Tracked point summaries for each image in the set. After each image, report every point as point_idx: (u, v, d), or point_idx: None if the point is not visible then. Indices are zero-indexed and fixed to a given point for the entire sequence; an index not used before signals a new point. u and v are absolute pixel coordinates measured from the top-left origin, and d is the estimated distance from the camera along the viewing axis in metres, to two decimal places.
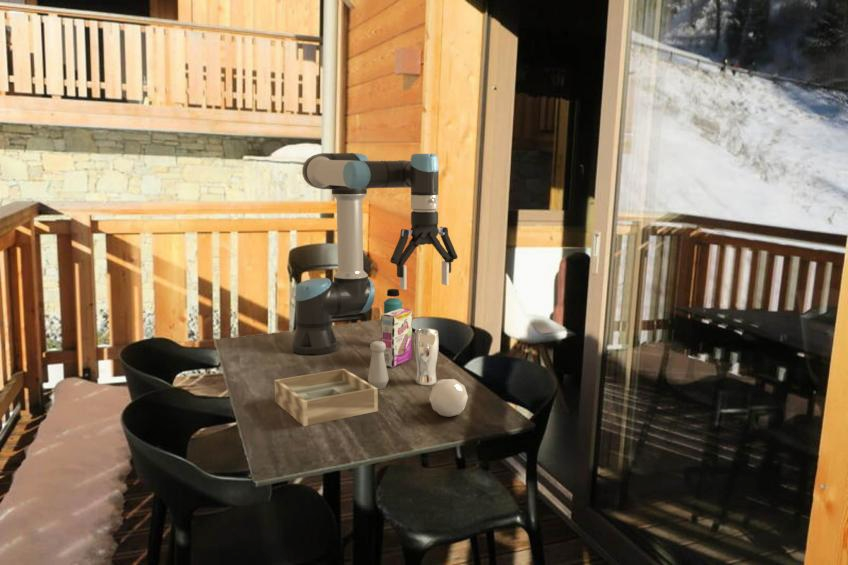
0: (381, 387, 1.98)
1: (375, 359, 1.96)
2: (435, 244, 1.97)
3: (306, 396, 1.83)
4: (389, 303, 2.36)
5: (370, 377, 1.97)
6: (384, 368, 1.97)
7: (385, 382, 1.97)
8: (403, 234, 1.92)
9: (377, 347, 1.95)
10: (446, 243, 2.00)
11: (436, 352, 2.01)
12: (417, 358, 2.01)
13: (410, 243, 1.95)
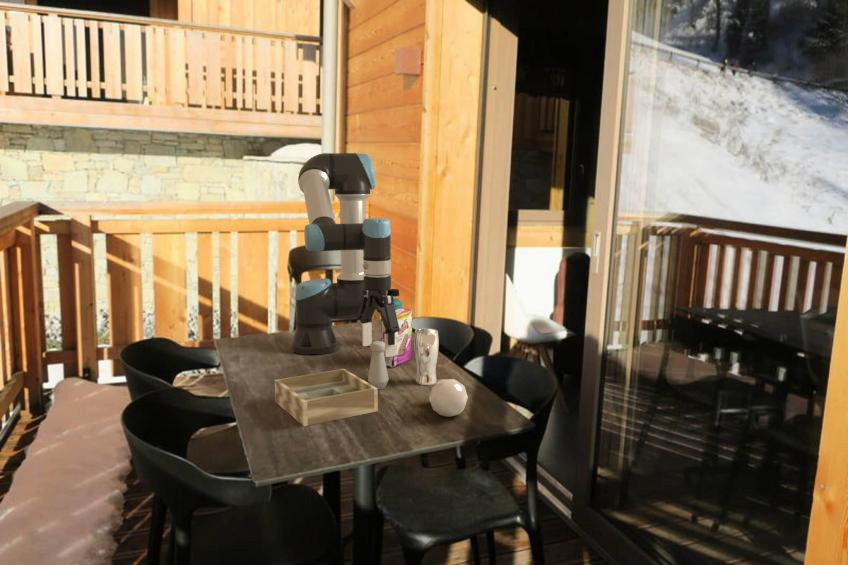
0: (381, 387, 1.98)
1: (375, 359, 1.96)
2: None
3: (306, 396, 1.83)
4: None
5: (370, 377, 1.97)
6: (384, 368, 1.97)
7: (385, 382, 1.97)
8: None
9: (377, 347, 1.95)
10: None
11: (436, 352, 2.01)
12: (417, 358, 2.01)
13: None
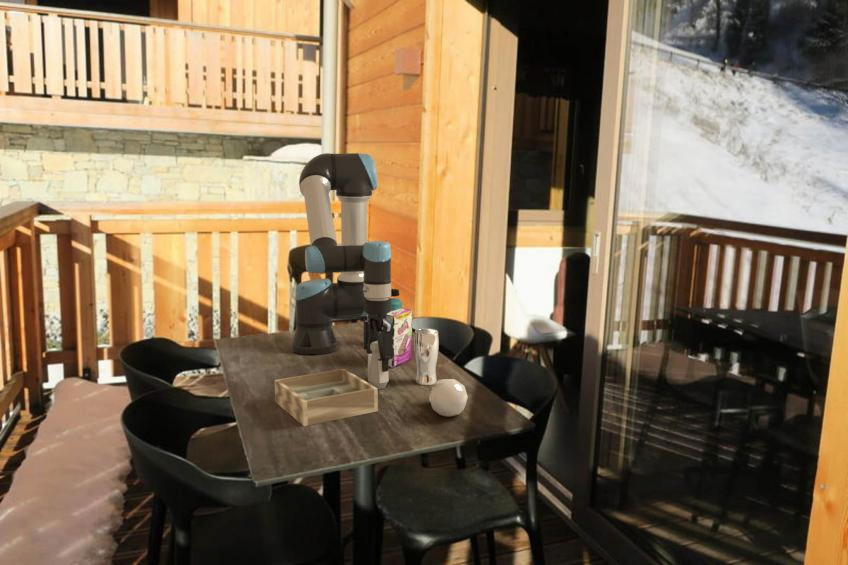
0: (381, 387, 1.98)
1: (375, 359, 1.96)
2: None
3: (306, 396, 1.83)
4: None
5: (370, 377, 1.97)
6: None
7: (385, 382, 1.97)
8: None
9: (377, 347, 1.95)
10: None
11: (436, 352, 2.01)
12: (417, 358, 2.01)
13: None
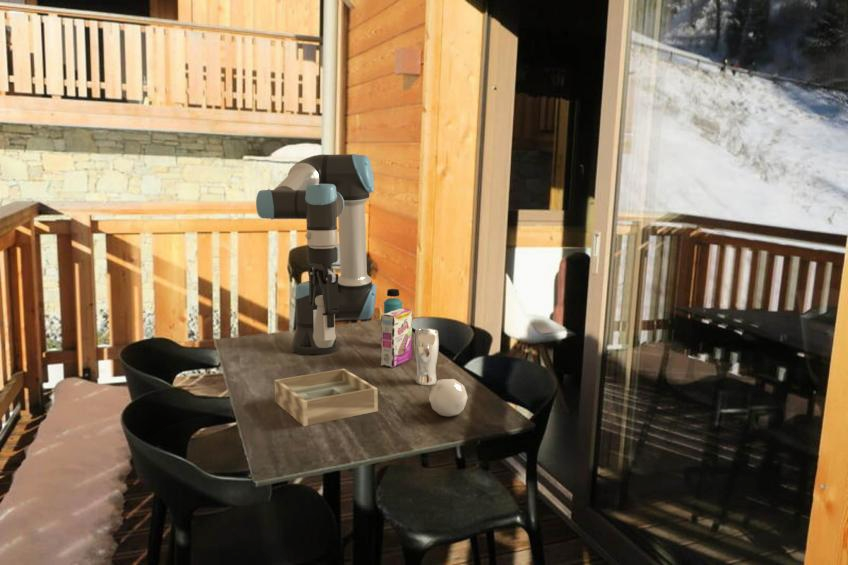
0: (327, 345, 1.79)
1: (320, 315, 1.78)
2: None
3: (306, 396, 1.83)
4: (389, 303, 2.36)
5: (315, 334, 1.79)
6: None
7: (331, 340, 1.79)
8: None
9: (322, 301, 1.77)
10: None
11: (436, 352, 2.01)
12: (417, 358, 2.01)
13: None
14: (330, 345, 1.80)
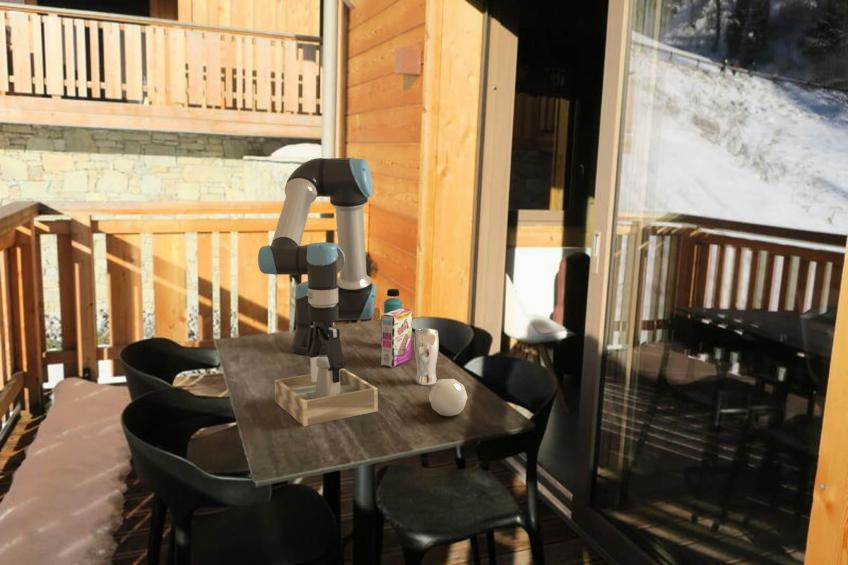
0: None
1: (321, 377, 1.81)
2: None
3: (306, 396, 1.83)
4: (389, 303, 2.36)
5: (316, 396, 1.82)
6: None
7: None
8: None
9: (323, 364, 1.80)
10: None
11: (436, 352, 2.01)
12: (417, 358, 2.01)
13: None
14: None
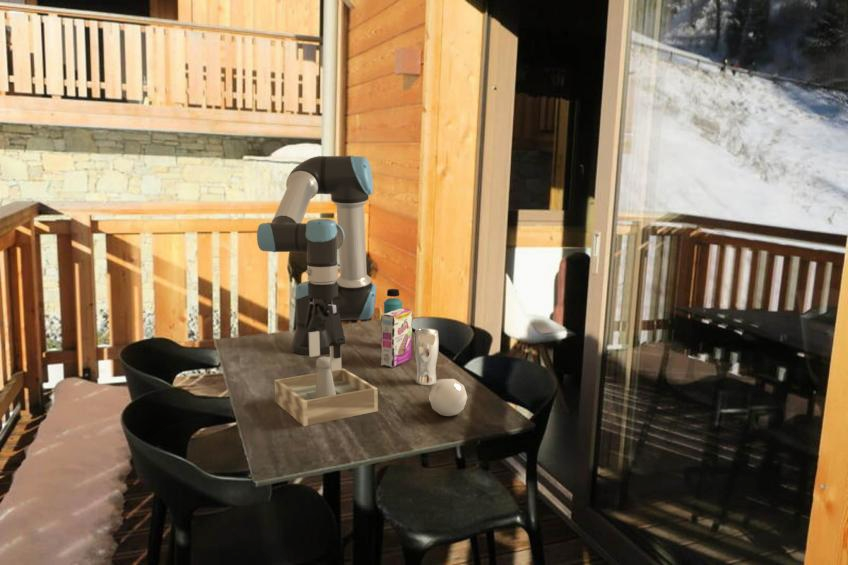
0: None
1: (321, 377, 1.81)
2: None
3: (306, 396, 1.83)
4: (389, 303, 2.36)
5: (316, 396, 1.82)
6: (331, 386, 1.82)
7: None
8: None
9: (323, 364, 1.80)
10: None
11: (436, 352, 2.01)
12: (417, 358, 2.01)
13: None
14: None
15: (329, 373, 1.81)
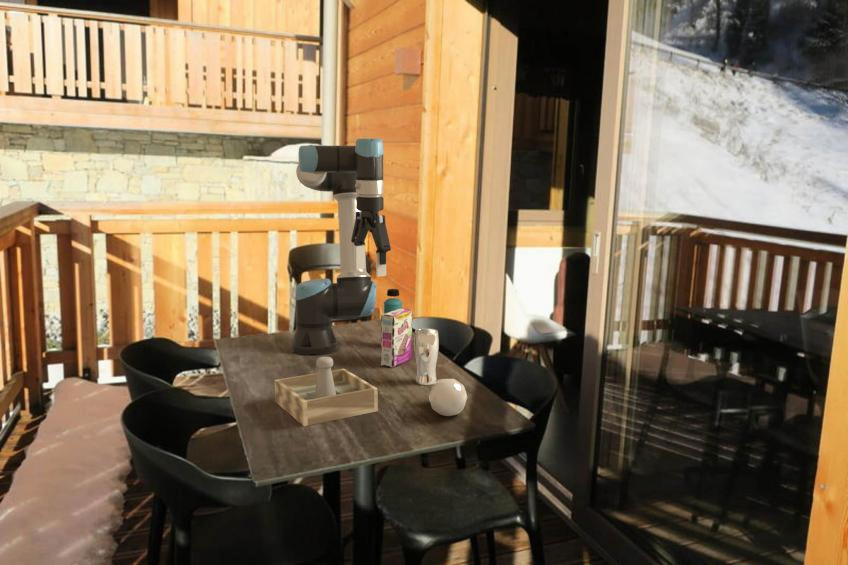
0: None
1: (321, 377, 1.81)
2: None
3: (306, 396, 1.83)
4: (389, 303, 2.36)
5: (316, 396, 1.82)
6: (331, 386, 1.82)
7: None
8: None
9: (323, 364, 1.80)
10: None
11: (436, 352, 2.01)
12: (417, 358, 2.01)
13: None
14: None
15: (329, 373, 1.81)
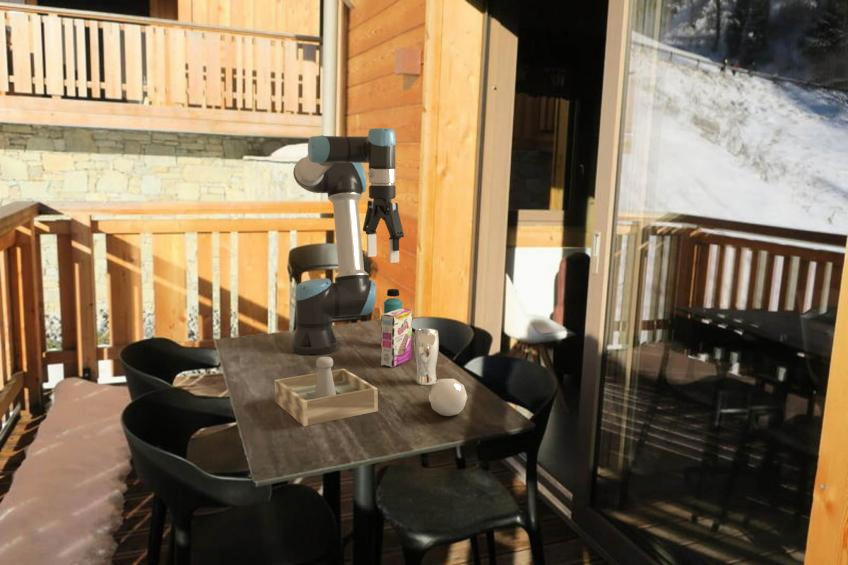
0: None
1: (321, 377, 1.81)
2: None
3: (306, 396, 1.83)
4: (389, 303, 2.36)
5: (316, 396, 1.82)
6: (331, 386, 1.82)
7: None
8: None
9: (323, 364, 1.80)
10: None
11: (436, 352, 2.01)
12: (417, 358, 2.01)
13: None
14: None
15: (329, 373, 1.81)
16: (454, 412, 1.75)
